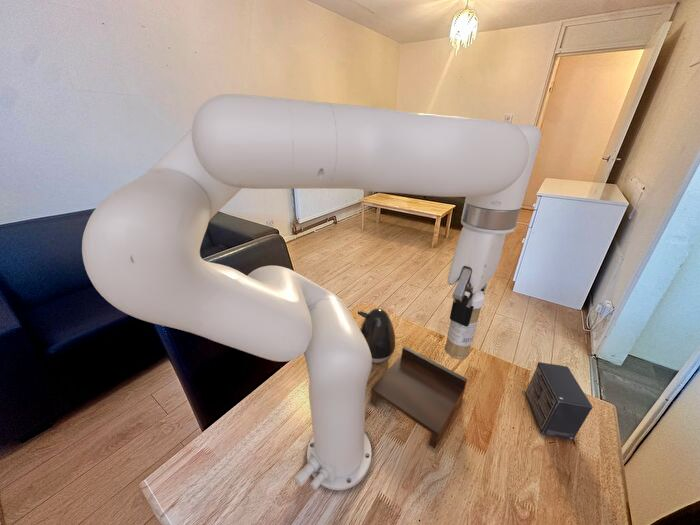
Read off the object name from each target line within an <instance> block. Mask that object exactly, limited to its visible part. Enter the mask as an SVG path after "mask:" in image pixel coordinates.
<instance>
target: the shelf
mask: <svg viewBox="0 0 700 525" xmlns="http://www.w3.org/2000/svg"><path fill="white" fill-rule="evenodd" d="M467 382H468V378H466V377H464V376H463V375H461V374H459V373H457V372H455V371H453V370H451V369H449V368H447V367H446V366H443V365H441V364H440V363H438V362H436V361H434V360H432V359H430V358H428V357H427V356H424V355H423V354H421V353H419V352H417V351H416V350H413V349H411V348H410V347H408V346H406V345H404V346H403V347H402V348H401V355H400V356H399V358H398V359H396V360H395V362H394V363H393V364H392V365H391V366H390V367H389V368H388V369H387V370H386V372H385V373H384V374H383V375H382V376H381V377H380V378H379V379H378V380H377V381H376V382H375V383H374V385H373V386H372V387H370V388H371V392H370V404H372V405H373V406H374V407H376V405H377V404H378V403H379V401H381V400H383V401H384V402H386V403H387V404H388V405H389V406H392V407H393V408H394V409H396V410H397V411H398V412H400V413H402V414H403V415H404V416H406V417H408V419H410V420H412V421H413V422H415V423H416V424H417V425H419V426H420V427H422V428H423V429H424V430H426V431H428V432H429V433H431V437H430V440H429V441H430V442H429V446H430V447H432V449H434V450H436V448H437V447H438V444H440V441H441V439H442V437H443V436H444V434H445V432H446V430H447V429H448V427H449V425H450V423H451V421H452V420H453V418H454V416H455V415H456V412H457V411H458V409H459V407H460V405H461V404H462V402H463V398H464V394H465V391H466V386H467Z"/></svg>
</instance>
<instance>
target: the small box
mask: <svg viewBox="0 0 700 525" xmlns="http://www.w3.org/2000/svg"><path fill="white" fill-rule="evenodd" d="M524 395H525V397H526V399H527V402H528V405H529V407H530V409H531V413H532V414H533V417H534V419H535V423H536V425H537V427H538V429H539V432H540V434H541V435H542V436H548V437H554V438H558V439H563V440H568V441H574V440H575V438H576V436H577V434H578V432H579V431H580V429H581V428H582V426H583V424H584V423H585V421H586V419H587V418H588V417H589V414H590V413H591V411H592V409H593V408H594V407H593V405H592V403H591V402H590V400H589V398H588V397H587V396H586V393H585V392H584V390H582V388H581V385H580V384H579V383H578V381H577V379H576V377H575V376H574V375H573V373H572V371H571V369H570V368H569V367H568V366H566V365H561V364H555V363H548V362H547V363H546V362H540V361H538V362H537V365H536V367H535V371H534V373H533V375H532V377H531V380H530V381H529V384H528V386H527V389H526V391H525V393H524Z"/></svg>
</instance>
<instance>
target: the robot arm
mask: <svg viewBox="0 0 700 525" xmlns="http://www.w3.org/2000/svg"><path fill="white" fill-rule="evenodd" d="M191 126H192V127H191V129H190V130H189V131H187V133H186V134H185V135H184V136H183V137H182V138H181V139H180V140H179V141H178V142H177V143H176V144H175V145H174V146H172V148H171V149H170V150H169V151H168V152H167V153H165V154H164V155H163V156H162V157H161V158H160V159H159V160H158V161H157V162H156V163H155V164H154V165H153V166H152V167H150V168H149V169H148V170H147V171H146V172H145V173H144V174H142V175H140V176H139V177H137V178H135V179H133V180H132V181H130V182H128V183H126V184H124V185H123V186H120V187H119V188H117V189H115V190H114V191H112V192H111V193H110V194H109V195H107V196H106V197H105V198H104V199H103V200H102V201H101V202H100V203H99V204H98V205H97V206H96V207H95V209H94V210H93V211H92V213H91V214H90V217H89V218H88V220H87V223H86V225H85V228H84V231H83V234H82V240H81V255H82V261H83V265H84V269H85V271H86V274H87V276H88V278H89V280H90V282H91V284H92V285H93V287H94V288H95V290H96V291H97V292H98V293H99V294H100V296H101V297H103V299H104V300H105V301H107V303H109V304H110V305H112V306H113V307H114V308H116V309H117V310H119V311H121V312H122V313H124V314H126V315H129V316H131V317H133V318H136V319H138V320H141V321H144V322H147V323H151V324H154V325H158V326H162V327H168V328H172V329H177V330H179V331H180V330H181V331H184V332H187V333H190V334H193V335H196V336H200V337H203V338H205V339H208V340H210V341H212V342H216V343H218V344H222V345H224V346H228V347H230V348H233V349H236V350H238V351H242V352H244V353H247V354H251V355H253V356H256V357H259V358H262V359H265V360H269V361H272V362H290V361H293V360H296V359H298V358H300V357H301V356H302V355H304V356H303V357H304V359H305V364H306V368H307V372H308V382H309V383H308V397H309V398H308V399H309V408H310V417H311V418H310V419H311V428H312V436H311V437H310V439H309V442H308V445H307V448H306V449H307V450H306V464H305V466H303V467H302V468H301V469H300V470H299V472H297V474H296V475H295V476H294V480H295V482H296V484H297V485H298V486H299V487H300V488H302V487H303V486H304V485H305V484H306V482H307V481H308V480H309V479H310V477H311V476H312V477H313V479H312V481H311V482H310V483H309V484H310V486H311V488H312V489H313V490H314V491H317V490H318V488H319V487H320V486H322V487H324V488H326V489H329V490H332V491H344V490H345V491H346V490H348V489H352V488H353V487H355V486H356V485H358V484H359V483H360V482H361V481H362V480H363V479H364V478H365V476H366V475H367V474H368V471H369V469H370V467H371V463H372V456H373V454H372V452H373V450H372V445H371V441H370V438H369V436H368V435H367V433H366V432H365V431H366V430H365V428H366V425H365V424H366V397H367V386H368V380H369V378H370V375H371V371H372V368H373V362H372V356H371V352H370V349H369V346H368V344H367V342H366V339H365V337H364V336H363V334H362V332H361V330H360V327H359V325H358V323H357V322H356V320H355V319H354V317H353V315H352V314H351V312H350V310H349V309H348V307H347V305H346V304H345V302H344V301H343V300H342V299H341V298H340V297H339V295H336V294H335V293H333V292H332V291H330V290H328V289H327V288H325V287H323V286H321V285H320V284H318V283H316V282H314V281H312V280H311V279H309V278H307V277H305V276H304V275H302V274H300V273H298V272H296V271H295V270H292V269H291V268H287V267H285V266H281V265H265V266H260V267H258V268H256V269H254V270H252V271H251V272H250V273H248V274H247V275H246V274H245V273H243V272H241V271H239V269H235V268H233V267H230V266H228V265H224V264H221V263H216V262H211V261H210V262H209V261H206V260H204V259H203V258H202V256H201V246H202V243H203V240H204V238H205V234H206V232H207V229H208V226H209V222H210V221H211V219H213V217H215V215H217V213H218V212H219V211H220V210H222V208H223V207H224V206H225V205H226V204H228V203H229V202H230V201H231V200H232V199H233V198H234V197H235V196H236V195H237V194H239V192H240V191H241V190H242V189H255V190H262V189H263V190H266V189H267V190H269V189H270V190H272V189H273V190H275V189H276V190H279V189H280V190H281V189H282V190H286V189H289V190H290V189H296V190H297V189H303V190H305V189H306V190H307V189H308V190H309V189H331V190H332V189H333V190H334V189H340V190H341V189H344V190H345V189H346V190H347V189H348V190H362V191H367V192H375V193H391V194H392V193H393V194H405V195H416V196H426V197H427V196H428V197H441V198H442V197H444V198H461V197H462V198H463V197H464V198H465V199H464V204H463V210H462V214H461V220H460V224H461V225H462V228H461V230H460V233H459V236H458V239H457V243H456V245H455V249H454V253H453V255H452V260H451V263H450V268H449V272H448V275H447V285H448V286H449V285H450V286H454V285H455V284H456V285H455V288H454V291H453V292H452V295H451V298H453V299H452V305H451V310H450V315H449V320H450V321H451V320H452V321H454V322H457V323H459V324H461V325H463V326H466V327H467V326H468V325H469V323H470V319H471V315H472V311H473V308H474V306H472V303H473V300H474V297H475V294H476V293H477V292H479V291H482V292H483V293H484V295H486V293H485V291H486V290H487V285H488V282H489V281H490V280H491V279H492V278H493V276H494V275H495V273H496V271H497V268H498V265H499V262H500V259H501V255H502V252H503V251H502V250H503V247H504V244H505V240H506V236H507V234H509V233H510V234H511V233H513V232H515V231H516V228H517V223H518V220H519V217H520V214H521V210H522V206H523V203H524V199H525V197H526V194H527V189H528V186H529V183H530V180H531V176H532V173H533V169H534V166H535V162H536V158H537V155H538V152H539V149H540V145H541V141H542V131H541V129H540V127H539V126H536V125H533V124H528V123H512V122H510V121H506V120H496V119H486V118H474V117H463V116H451V115H438V114H429V113H428V114H427V113H420V112H419V113H417V112H409V111H402V110H396V109H395V110H394V109H390V108H383V107H378V106H376V107H375V106H368V105H356V104H347V103H334V102H324V101H316V100H315V101H314V100H303V99H294V98H283V97H273V96H266V95H265V96H264V95H255V94H254V95H253V94H242V93H225V94H224V93H223V94H219V95H215V96H213V97H211V98H208V99H207V100H206V101H205V102H203V103H202V104H201V106H199V108H198V109H197V111H196V113H195V115H194V117H193V121H192V125H191ZM468 286H469V287H468ZM471 287H473V288H471ZM465 291H467V292H469V293H470V296H469V299H468V297H467V296H465ZM481 309H482V308H481ZM481 309H480V311H481Z"/></svg>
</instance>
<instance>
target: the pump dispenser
mask: <svg viewBox="0 0 700 525" xmlns="http://www.w3.org/2000/svg"><path fill="white" fill-rule="evenodd" d="M357 315H358V316H361V317H362V318H364V319H363V321H362V323H361V325H360V327H359V329H360V330H361V332H362V334H363V336H364V337H365V339H366V342H367V344H368V346H369V349H370V352H371V356H372V363H373V364H379V363H383V362H386V361H387V360H389V358H390V357H391V356H392V355H393V353H394V352H395V349H396V334H395V329H394V325H393V323H392V320H391V318H390V316H389V314H388V313H387V312H386V311H385V310H384V309H382V308H373V309H372V310H370V311H369V312H365V311H363V310H360V309H359V310H357Z"/></svg>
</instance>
